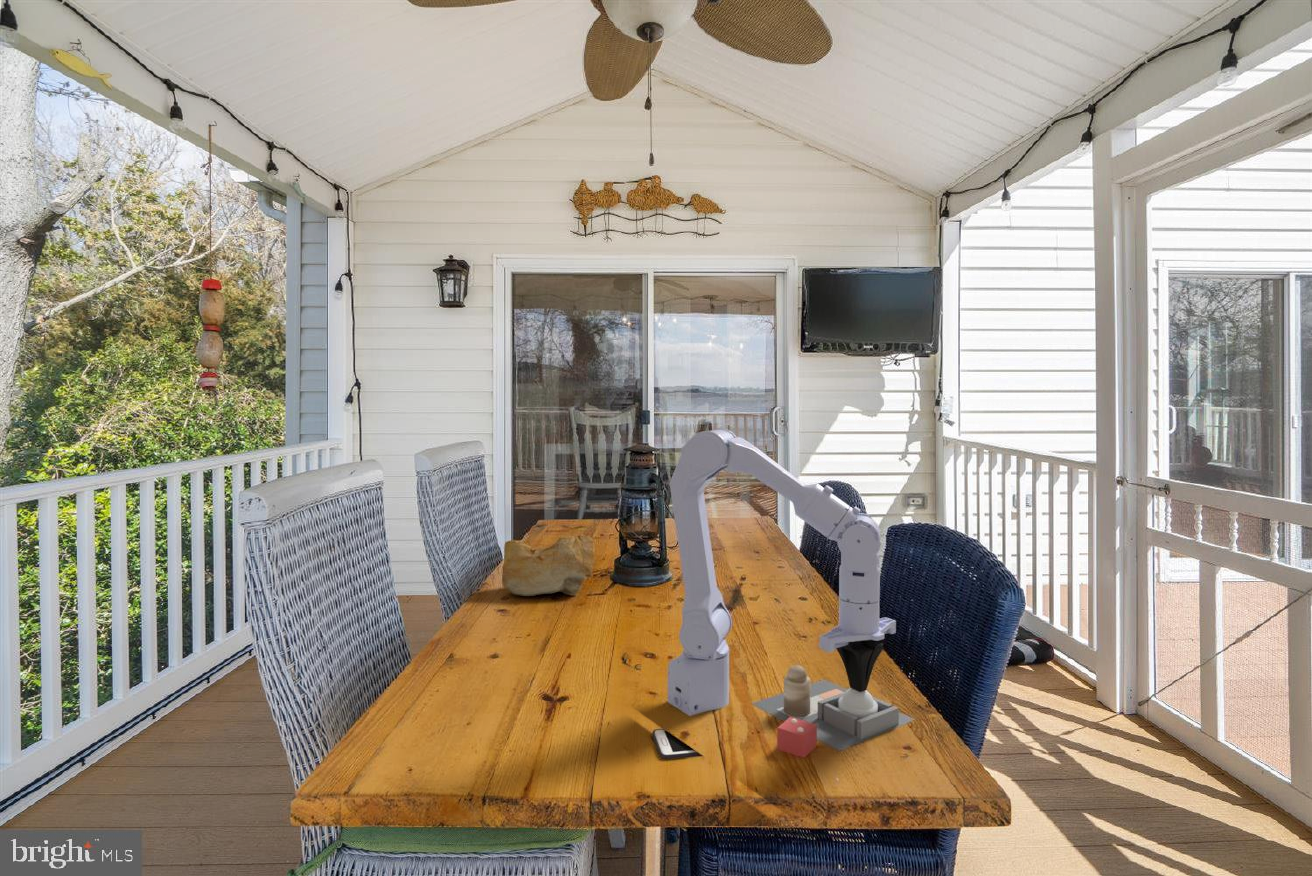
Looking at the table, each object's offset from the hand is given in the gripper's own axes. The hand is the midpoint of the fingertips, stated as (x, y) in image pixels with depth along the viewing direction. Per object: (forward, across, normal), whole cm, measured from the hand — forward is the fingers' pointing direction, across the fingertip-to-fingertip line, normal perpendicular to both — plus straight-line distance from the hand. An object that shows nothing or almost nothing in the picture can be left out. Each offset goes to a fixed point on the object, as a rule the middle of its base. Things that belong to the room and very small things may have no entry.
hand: (858, 688), depth 104 cm
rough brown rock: (+6, -5, +94) cm, 94 cm away
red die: (+6, -13, 0) cm, 14 cm away
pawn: (+5, -5, +8) cm, 10 cm away
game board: (+6, -1, +4) cm, 7 cm away
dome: (+5, 0, 0) cm, 5 cm away
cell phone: (+6, -21, +10) cm, 24 cm away
